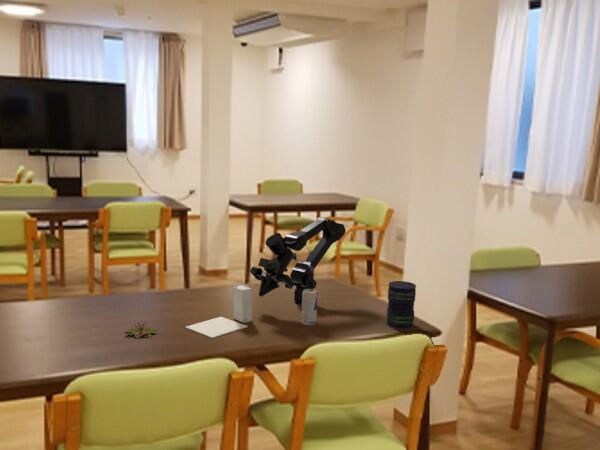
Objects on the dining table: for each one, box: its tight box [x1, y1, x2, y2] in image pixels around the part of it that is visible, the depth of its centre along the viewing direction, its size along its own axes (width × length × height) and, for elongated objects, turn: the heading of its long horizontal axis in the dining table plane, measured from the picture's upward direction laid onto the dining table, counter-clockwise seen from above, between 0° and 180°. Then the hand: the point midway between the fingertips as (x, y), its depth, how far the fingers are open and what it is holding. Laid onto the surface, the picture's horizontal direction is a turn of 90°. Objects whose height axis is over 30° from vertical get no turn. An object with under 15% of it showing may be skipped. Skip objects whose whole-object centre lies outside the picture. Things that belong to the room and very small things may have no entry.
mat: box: [185, 316, 248, 339], centre depth 208 cm, size 16×14×1 cm
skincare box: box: [232, 284, 253, 324], centre depth 216 cm, size 6×4×12 cm
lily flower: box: [124, 320, 159, 339], centre depth 200 cm, size 12×12×5 cm
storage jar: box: [385, 280, 417, 330], centre depth 216 cm, size 10×10×15 cm
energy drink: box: [300, 288, 318, 326], centre depth 215 cm, size 5×5×12 cm
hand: (259, 296), depth 222 cm, fingers closed
